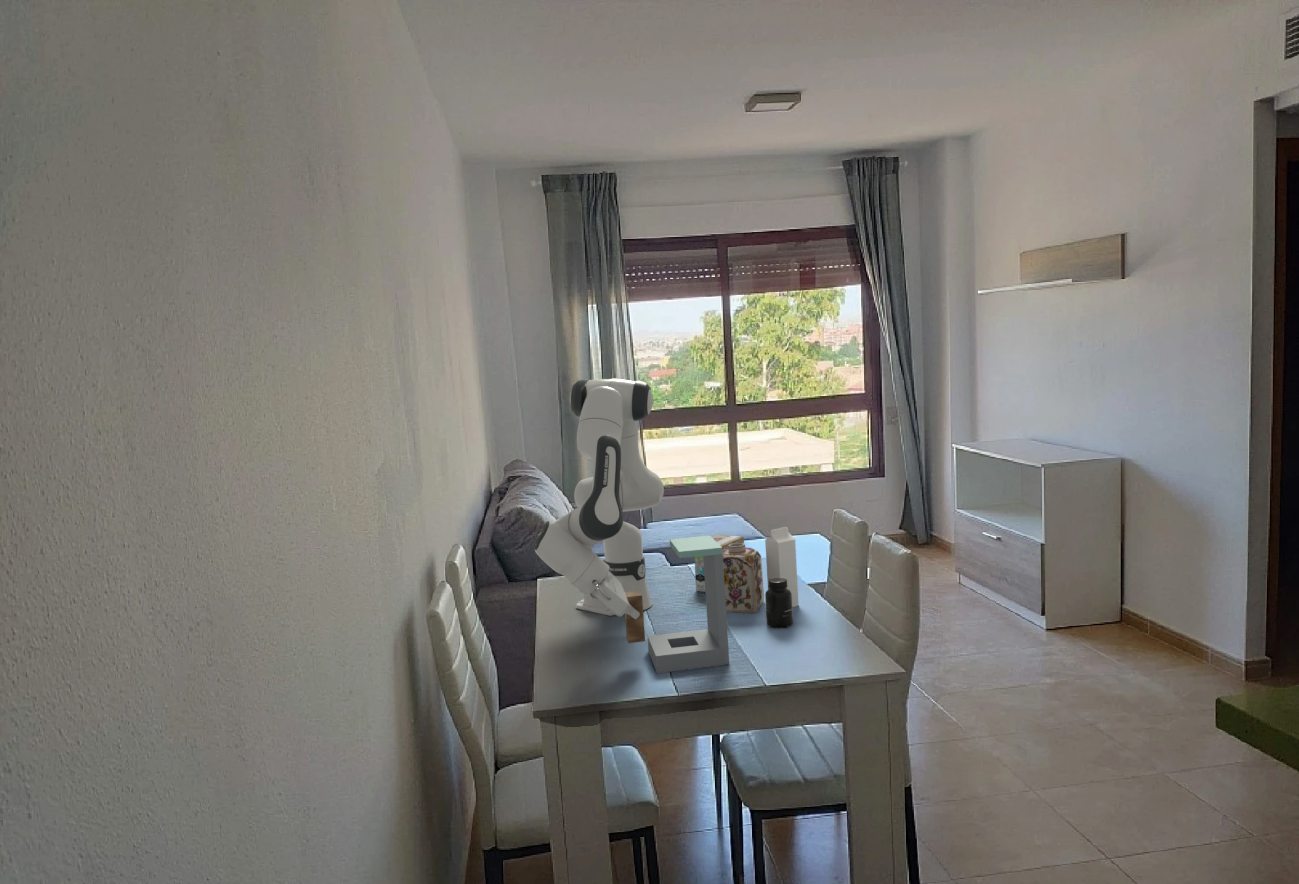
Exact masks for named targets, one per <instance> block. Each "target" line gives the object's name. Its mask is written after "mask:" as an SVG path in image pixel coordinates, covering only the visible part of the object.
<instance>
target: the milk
mask: <svg viewBox="0 0 1299 884" xmlns="http://www.w3.org/2000/svg"><path fill="white" fill-rule="evenodd" d="M764 541H765V556H766V557H765V560H766V577H767V590H769V589H770V588H769V587H768V585H769V579H773V578H784V579H787V585H788V587H787V589H788V590H790V591H791V594H792V608H795V607H798V606H800V605H799V588H798V570H797V569H798V568H797V567H798V566H797V553H796V552H797V547H796V538H794V536H793V535H792V534H791V533H790V532H789V527H788V526H783V527H779V528H774V529H771V530H770V536H768V537H767V538H765V540H764Z"/></svg>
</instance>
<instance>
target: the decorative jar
mask: <svg viewBox="0 0 1299 884" xmlns="http://www.w3.org/2000/svg"><path fill="white" fill-rule="evenodd" d="M722 552H723V569H724V585H725V601H726V613H744V614H745V613H749V614H755V613H757V612H758V610H759V609H760V607H761V606H762V604H763V603H764V601H765V600H764V599H765V594H764V593H765V592H764V579H763V577H764V576H763V563H762V556H761V554H760V553H759V550H757V549H754V548H753V547H746V544H745V542H744V543H733V544H730V545H728V549H724V550H722Z"/></svg>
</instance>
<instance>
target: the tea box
mask: <svg viewBox="0 0 1299 884" xmlns="http://www.w3.org/2000/svg"><path fill="white" fill-rule="evenodd" d="M711 537H712V538H713V539H714V540H715V541H716V542H717V543H718V544H719V545H720V546H721V547H722V550H724V549H728V545H730V544H733V543H744V544H745V539H744V536H741V535H740V536H739V535H725V534H716V535H713V536H711ZM694 572H695V574H694V576H695V591H697V592H701V593H703V592H704V593H706V591H705V576H704V560H703V556H697V557H694Z"/></svg>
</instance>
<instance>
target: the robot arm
mask: <svg viewBox="0 0 1299 884" xmlns="http://www.w3.org/2000/svg"><path fill="white" fill-rule="evenodd" d="M569 404H570V408H571V411H572V413H573V414H574V415H575V416H576V417H579V421H578V426H577V432H576V448H577V450H578V452H579V453H580V455H582V456H583V458H585V459H587V460H588V461H591V462H592V463H593V471H592V472H593V474H592V476H590V477H587V478H584V479H580V480H579V481H578V483H576V486H575V488H574V493H573V499H574V503H575V505H576V508H574V509H573V510H572V511H570V512H568V513H566V514H565V515H562V516H561V517H559V518H557V519H553V520H549V521H547V522H545V523H544V524H543V525H541V527H540V529H539V530H538V532H537V533H536V534H535V538H534V539H533V547H532V548H533V549H534V551H535V554H537V556H538V557H539V558H540V559H541V560H542V561H543V562H544V563H545V564H546V565H547V566H548V567H550V568H551V570H553V571H554V572H556V573H558V574H560V575H562V576H563V577H564V578H565V579H566V581H567V582H568V583H569V584H570V585H572V586H573V587H574V588H576V590H578V591H579V592H580V594H583V598H582V599H581V600H579V601H577V603H576V606H575V607H576V609H579V610H582V611H587V612H591V613H594V614H595V613H596V614H599V615H600V614H601V615H605V616H617V617H619V618H620V617H623V616H625V613H626V614H628V615H630V616H631V617H633V618H634V619H637V618H638V617H639V616H640V613H639V611H638V610H636V609H635V608H633V607H632V606H631V605H630V604H629V602H628V599H627V597H626V594H625V592H635V591H640V592H641V594H642V602H643V611H645V610H647V609H650V608H651V607H652V606H653V603H652V600H651V597H650V594H649V590H648V585H647V580H646V561H645V559H646V558H645V556H644V553H643V551H644V550H643V539H642V533H641V530H640V529H639V528H638V527H637V526H635V525H633V524H631V523H629V522H627V521H624V512H631V511H633V512H634V511H640V510H641V511H642V510H646V509H650V508H653V507H656V506H658V505H660V504H661V502H662V499H663V497H664V494H665V493H664V492H665V489H664V483H663V481H662V479H661V478H660V476H659V475H658V474H657V473H655V472H653V471H652V470H650V469H649V468H648V467H647V466H646V465H645V464H644V462H643V459H642V458H641V455H640V449H639V429H638V428H639V426H638V425H639V423H638V421H643V420H645V419H647V418H648V417H649V416H650V414H651V412H652V409H653V407H654V394H653V392H652V388H651V386H650V385H649V384H648V383H647V382H645V381H641V380H628V379H621V378H598V379H589V378H584V379H579V380H577V381H576V382H575V383H573V385H572V387H571V391H570V393H569ZM600 542H602V543H603V551H604V552H603V553H604V559H602V558H600V557H599V556H598V555H597V554H596V553H594V552H593V547H594V545H596V544H598V543H600Z"/></svg>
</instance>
